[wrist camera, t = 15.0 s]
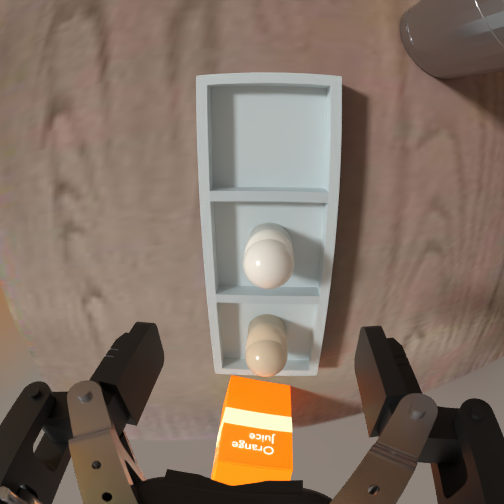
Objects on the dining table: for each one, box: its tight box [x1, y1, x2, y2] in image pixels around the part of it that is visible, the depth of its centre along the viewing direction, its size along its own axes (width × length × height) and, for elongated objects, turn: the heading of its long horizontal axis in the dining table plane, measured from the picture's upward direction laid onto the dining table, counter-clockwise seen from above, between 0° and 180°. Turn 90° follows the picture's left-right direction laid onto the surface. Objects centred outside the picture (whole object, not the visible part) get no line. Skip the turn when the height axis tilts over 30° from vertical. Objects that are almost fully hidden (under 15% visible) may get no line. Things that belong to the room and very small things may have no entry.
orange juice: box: [211, 375, 293, 486], centre depth 33 cm, size 8×9×20 cm
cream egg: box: [243, 223, 294, 289], centre depth 29 cm, size 5×5×7 cm
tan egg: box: [245, 314, 288, 377], centre depth 33 cm, size 5×5×7 cm
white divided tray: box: [196, 73, 342, 376], centre depth 31 cm, size 13×34×3 cm, turn 0°
